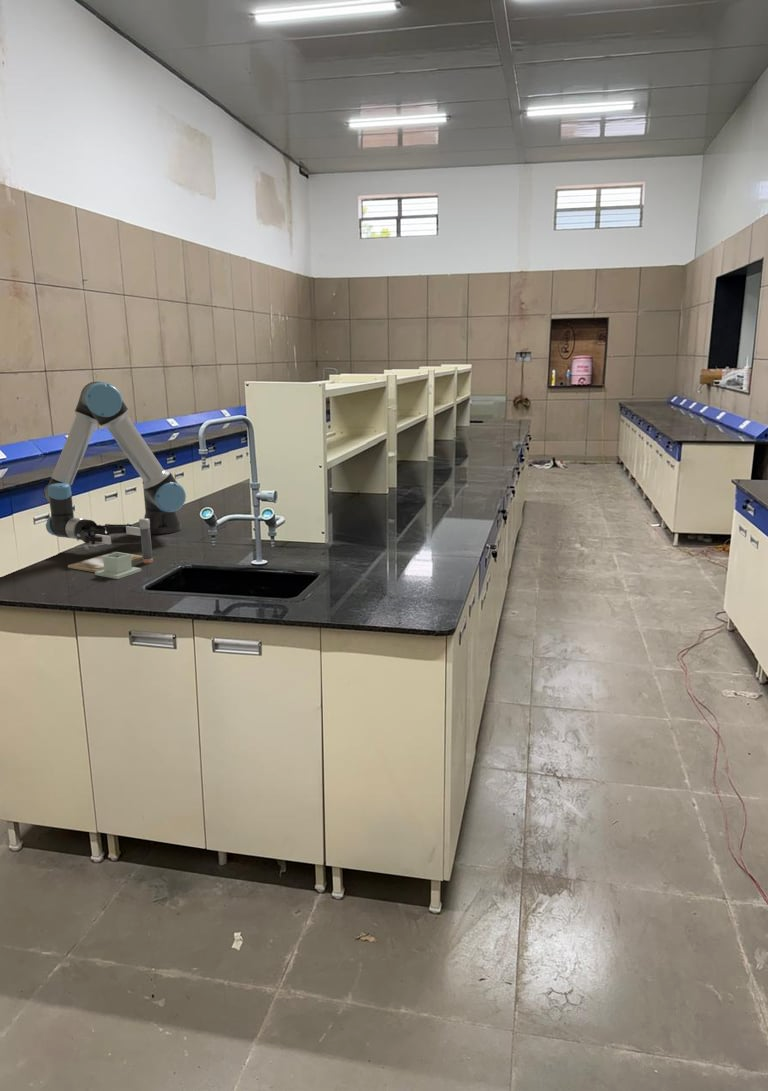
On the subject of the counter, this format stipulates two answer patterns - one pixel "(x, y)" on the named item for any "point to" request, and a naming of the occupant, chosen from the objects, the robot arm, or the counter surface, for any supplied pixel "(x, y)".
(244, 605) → the counter surface
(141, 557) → the clipboard
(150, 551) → the marker
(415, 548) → the counter surface
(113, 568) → the square socket holder
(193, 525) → the counter surface
